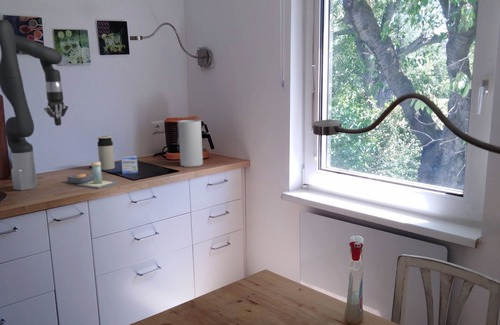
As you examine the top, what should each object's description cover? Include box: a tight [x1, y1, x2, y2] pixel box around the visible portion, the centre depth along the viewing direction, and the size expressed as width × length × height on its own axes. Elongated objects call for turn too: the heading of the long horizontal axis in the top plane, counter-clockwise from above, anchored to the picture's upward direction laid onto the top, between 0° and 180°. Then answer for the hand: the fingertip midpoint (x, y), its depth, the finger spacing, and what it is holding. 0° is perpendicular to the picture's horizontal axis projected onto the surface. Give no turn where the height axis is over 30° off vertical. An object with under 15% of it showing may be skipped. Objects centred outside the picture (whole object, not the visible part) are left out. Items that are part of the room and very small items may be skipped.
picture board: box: [77, 179, 119, 190], centre depth 218 cm, size 12×14×1 cm
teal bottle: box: [91, 161, 103, 184], centre depth 217 cm, size 4×4×10 cm
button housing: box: [66, 172, 93, 185], centre depth 225 cm, size 9×9×3 cm
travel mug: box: [97, 135, 116, 171], centre depth 253 cm, size 8×8×18 cm
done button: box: [75, 173, 87, 177], centre depth 225 cm, size 5×5×2 cm
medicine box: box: [120, 155, 139, 175], centre depth 242 cm, size 8×4×9 cm, turn 105°
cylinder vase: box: [177, 119, 204, 168], centre depth 257 cm, size 12×12×25 cm
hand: (58, 125), depth 233 cm, fingers closed
